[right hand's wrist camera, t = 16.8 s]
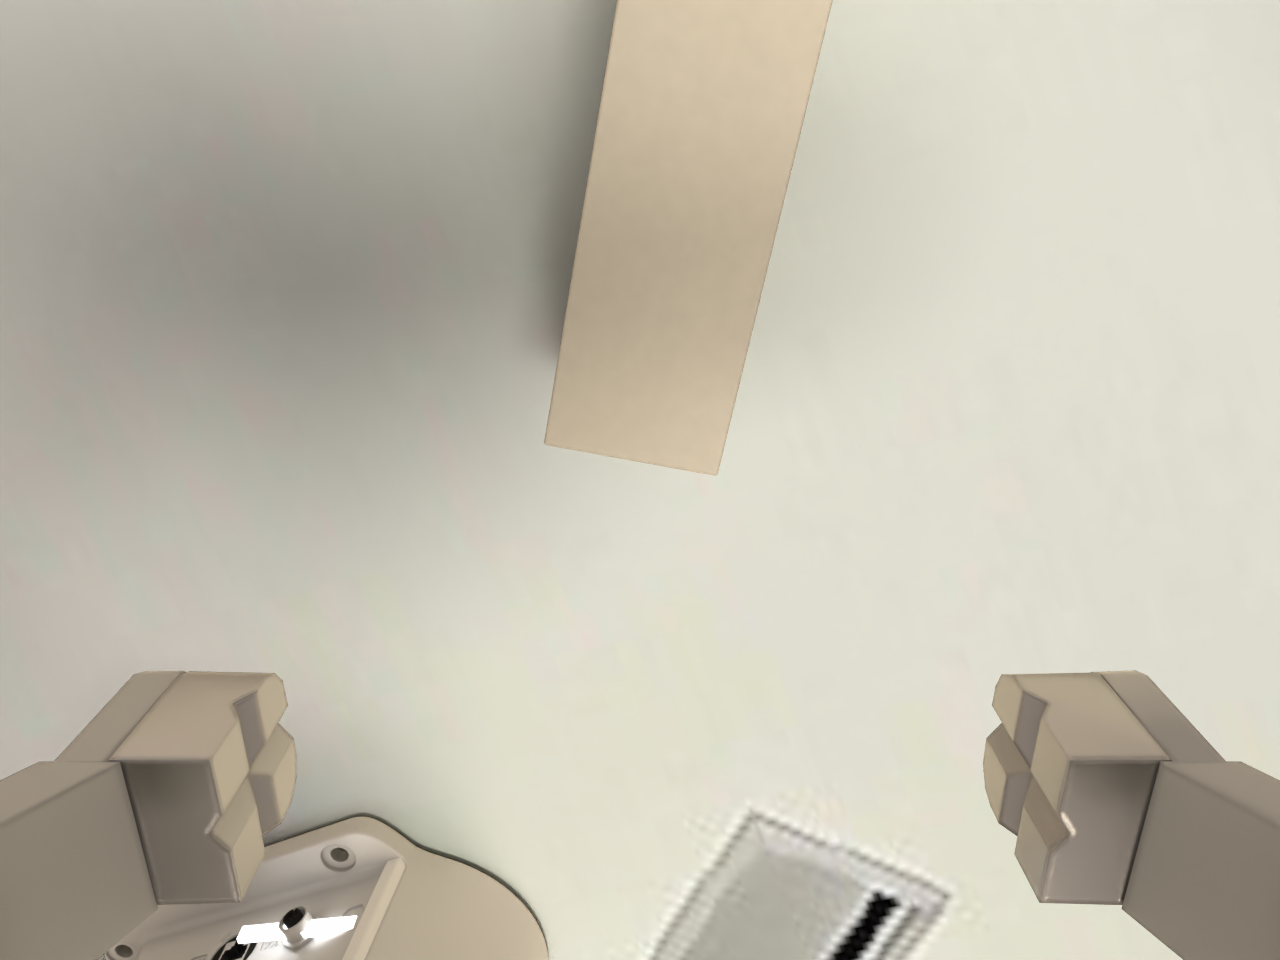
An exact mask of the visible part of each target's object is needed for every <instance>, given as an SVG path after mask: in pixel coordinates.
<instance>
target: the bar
mask: <svg viewBox="0 0 1280 960" xmlns="http://www.w3.org/2000/svg"><path fill="white" fill-rule="evenodd" d="M832 1H833V0H617V4H616V10H615V16H614V22H613V28H612V34H611V40H610V46H609V52H608V58H607V65H606V71H605V77H604V83H603V89H602V95H601V101H600V107H599V113H598V119H597V125H596V131H595V137H594V143H593V149H592V155H591V162H590V168H589V174H588V180H587V186H586V192H585V198H584V204H583V210H582V216H581V222H580V228H579V234H578V240H577V246H576V252H575V259H574V265H573V271H572V277H571V283H570V289H569V295H568V301H567V307H566V313H565V319H564V325H563V331H562V337H561V343H560V350H559V356H558V362H557V368H556V374H555V380H554V386H553V392H552V398H551V404H550V410H549V416H548V422H547V428H546V434H545V440H544V443H545V445H549V446H555V447H560V448H566V449H571V450H577V451H582V452H588V453H593V454H599V455H604V456H610V457H615V458H621V459H626V460H632V461H637V462H643V463H648V464H654V465H659V466H665V467H670V468H676V469H681V470H687V471H692V472H698V473H703V474H709V475H714V476H716V475H717V474H718V470H719V466H720V462H721V458H722V454H723V450H724V446H725V442H726V437H727V433H728V429H729V425H730V421H731V417H732V413H733V409H734V405H735V400H736V396H737V392H738V388H739V384H740V380H741V376H742V372H743V368H744V363H745V359H746V355H747V351H748V347H749V343H750V339H751V335H752V330H753V326H754V322H755V318H756V314H757V310H758V306H759V302H760V298H761V293H762V289H763V285H764V281H765V277H766V273H767V269H768V265H769V260H770V256H771V252H772V248H773V244H774V240H775V236H776V232H777V228H778V223H779V219H780V215H781V211H782V207H783V203H784V199H785V195H786V190H787V186H788V182H789V178H790V174H791V170H792V166H793V162H794V158H795V153H796V149H797V145H798V141H799V137H800V133H801V129H802V125H803V120H804V116H805V112H806V108H807V104H808V100H809V96H810V92H811V88H812V83H813V79H814V75H815V71H816V67H817V63H818V59H819V55H820V50H821V46H822V42H823V38H824V34H825V30H826V26H827V22H828V18H829V13H830V9H831V5H832Z"/></svg>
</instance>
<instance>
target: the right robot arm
mask: <svg viewBox="0 0 1280 960" xmlns="http://www.w3.org/2000/svg"><path fill="white" fill-rule="evenodd" d="M287 706H288V704H287V699H286V694H285V689H284V685H283V681H282V680H281V679H280V678H279V677H278V676H277V675H276V674H275V673H245V672H197V671H189V672H184V671H145V672H141V673H138V674H134V675H133V676H132V677H131V678H130V679H129V680H128V681H127V682H126V683H125V685H124V686H123V687H122V688H121V689H120V690H119V691H118V692H117V693H116V694H115V695H114V697H113V698H112V699H111V700H110V701H109V702H108V703H107V704H106V705H105V706H104V707H103V709H102V710H101V711H100V712H99V713H98V714H97V715H96V716H95V717H94V718H93V719H92V721H91V722H90V723H89V724H88V725H87V726H86V727H85V728H84V729H83V730H82V731H81V733H80V734H79V735H78V736H77V737H76V738H75V739H74V740H73V741H72V742H71V743H70V745H69V746H68V747H67V748H66V749H65V750H64V751H63V752H62V753H61V754H60V755H59V757H58V758H57V759H56V760H55V761H54V762H37V763H35V764H33V765H31V766H29V767H27V768H25V769H23V770H21V771H19V772H17V773H15V774H13V775H11V776H9V777H6V778H4V779H2V780H0V960H97V959H98V958H100V957H101V956H102V955H103V954H104V955H105V960H548V951H547V946H546V942H545V939H544V936H543V934H542V931H541V929H540V927H539V925H538V923H537V922H536V920H535V918H534V917H533V915H532V914H531V913H530V911H529V910H528V909H527V907H526V906H525V905H524V904H523V903H522V902H521V901H520V900H519V899H518V898H517V897H516V896H515V895H514V894H513V893H512V892H511V891H510V890H508V889H507V888H506V887H505V886H503V885H502V884H500V883H499V882H498V881H496V880H495V879H493V878H491V877H490V876H488V875H486V874H484V873H483V872H481V871H479V870H477V869H475V868H472V867H470V866H468V865H465V864H463V863H460V862H458V861H455V860H451V859H448V858H445V857H442V856H439V855H436V854H433V853H430V852H428V851H425V850H423V849H421V848H418V847H416V846H415V845H414V844H412V843H411V842H410V841H408V840H407V839H406V838H404V837H403V836H402V835H400V834H399V833H398V832H396V831H395V830H393V829H392V828H390V827H389V826H387V825H386V824H384V823H382V822H380V821H378V820H376V819H373V818H370V817H362V816H361V817H354V818H350V819H347V820H344V821H341V822H338V823H335V824H332V825H329V826H326V827H323V828H320V829H317V830H314V831H311V832H308V833H305V834H302V835H299V836H296V837H293V838H290V839H287V840H284V841H281V842H278V843H275V844H272V845H269V846H266V847H264V843H263V837H262V836H264V835H265V834H266V833H268V832H269V831H271V830H272V829H274V828H275V827H276V826H278V825H279V824H281V823H282V821H283V818H284V816H285V814H286V812H287V810H288V808H289V806H290V804H291V800H292V795H293V790H294V786H295V781H296V751H295V744H294V738H293V737H292V736H291V735H290V734H289V733H288V732H287V731H286V730H285V729H284V728H283V727H282V726H281V725H280V724H279V723H278V722H279V720H280V718H281V716H282V715H283V713H284V711H285V710H286V708H287ZM992 706H993V708H994V710H995V711H996V713H997V715H998V716H999V718H1000V720H1001V722H1002V723H1001V724H1000V725H999V726H998V727H997V728H996V729H995V730H994V731H993V732H992V733H991V734H990V735H989V736H988V737H987V738H986V745H985V753H984V760H983V768H984V780H985V789H986V792H987V796H988V799H989V803H990V806H991V808H992V810H993V812H994V814H995V816H996V818H997V821H998V823H999V824H1001V825H1002V826H1004V827H1005V828H1006V829H1008V830H1009V831H1011V832H1012V833H1014V834H1015V835H1016V836H1018V837H1017V843H1016V848H1015V853H1014V854H1015V856H1016V858H1017V860H1018V862H1019V864H1020V866H1021V868H1022V870H1023V872H1024V874H1025V875H1026V877H1027V879H1028V881H1029V883H1030V885H1031V887H1032V889H1033V891H1034V893H1035V895H1036V897H1037V899H1038V901H1039V903H1069V904H1104V905H1123V906H1122V909H1123V910H1124V911H1125V912H1126V913H1127V914H1129V915H1130V916H1131V917H1132V918H1134V919H1135V920H1136V921H1137V922H1138V923H1140V924H1141V925H1142V926H1143V927H1144V928H1146V929H1147V930H1148V931H1149V932H1150V933H1152V934H1153V935H1154V936H1155V937H1156V938H1158V939H1159V940H1160V941H1161V942H1163V943H1164V944H1165V945H1166V946H1167V947H1169V948H1170V949H1171V950H1172V951H1173V952H1175V953H1176V954H1177V955H1178V956H1179V957H1181V958H1182V959H1183V960H1280V780H1278V779H1275V778H1273V777H1271V776H1269V775H1267V774H1265V773H1263V772H1261V771H1259V770H1257V769H1255V768H1253V767H1251V766H1249V765H1247V764H1245V763H1243V762H1226V761H1225V760H1224V759H1223V758H1222V757H1221V755H1220V754H1219V753H1218V752H1217V751H1216V750H1215V749H1214V748H1213V747H1212V746H1211V745H1210V743H1209V742H1208V741H1207V740H1206V739H1205V738H1204V737H1203V736H1202V735H1201V734H1200V733H1199V731H1198V730H1197V729H1196V728H1195V727H1194V726H1193V725H1192V724H1191V723H1190V722H1189V721H1188V719H1187V718H1186V717H1185V716H1184V715H1183V714H1182V713H1181V712H1180V711H1179V710H1178V709H1177V707H1176V706H1175V705H1174V704H1173V703H1172V702H1171V701H1170V700H1169V699H1168V698H1167V697H1166V695H1165V694H1164V693H1163V692H1162V691H1161V690H1160V689H1159V688H1158V687H1157V686H1156V684H1155V683H1154V682H1153V681H1152V680H1151V679H1150V678H1149V677H1148V676H1147V675H1145V674H1143V673H1140V672H1138V671H1107V672H1091V673H1051V674H1002V675H1001V677H1000V679H999V681H998V683H997V685H996V687H995V693H994V698H993V703H992ZM339 848H342V849H345V850H341V849H339Z"/></svg>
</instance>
